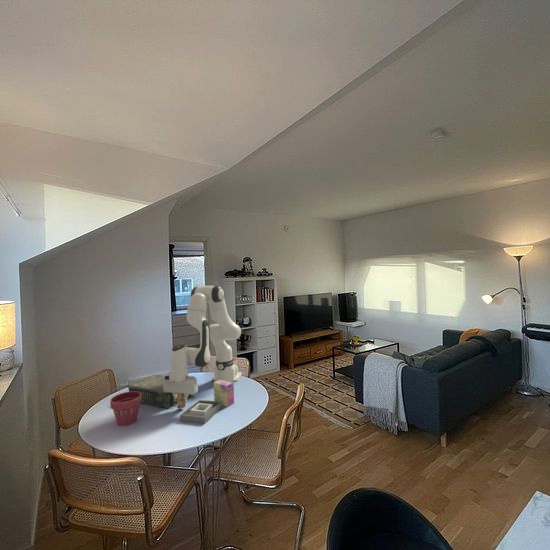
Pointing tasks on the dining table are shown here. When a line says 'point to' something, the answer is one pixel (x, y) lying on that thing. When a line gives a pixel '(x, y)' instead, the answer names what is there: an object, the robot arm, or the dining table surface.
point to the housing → (201, 411)
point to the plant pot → (126, 407)
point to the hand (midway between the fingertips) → (181, 400)
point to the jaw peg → (180, 400)
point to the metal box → (154, 392)
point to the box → (224, 392)
